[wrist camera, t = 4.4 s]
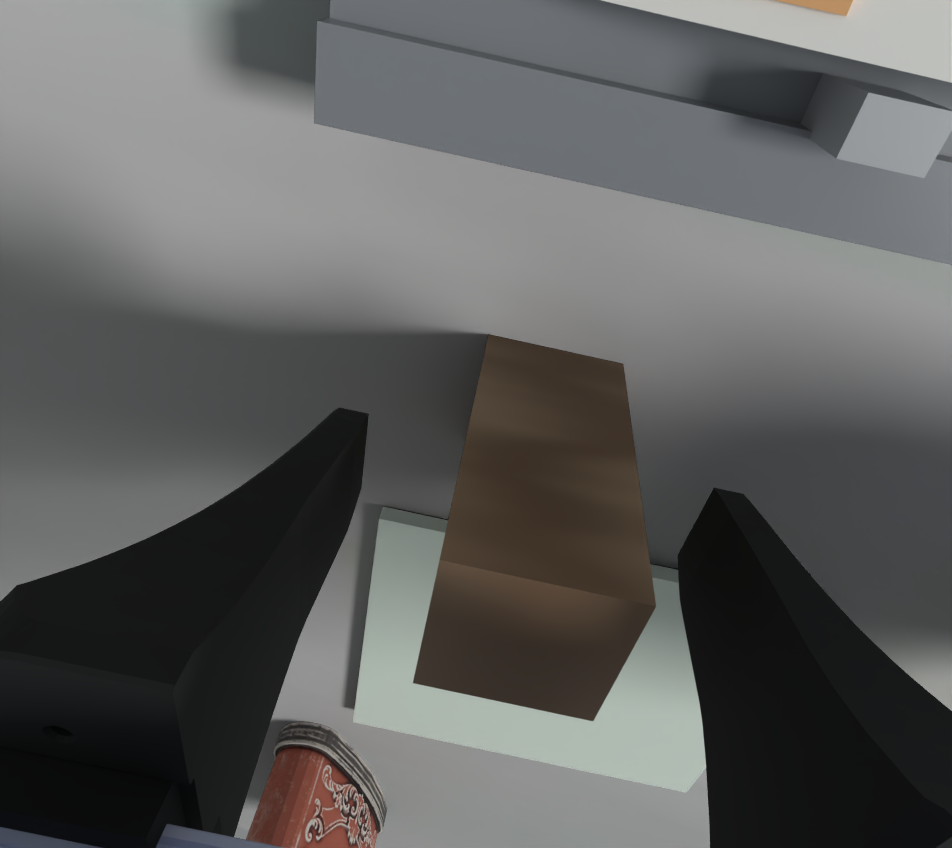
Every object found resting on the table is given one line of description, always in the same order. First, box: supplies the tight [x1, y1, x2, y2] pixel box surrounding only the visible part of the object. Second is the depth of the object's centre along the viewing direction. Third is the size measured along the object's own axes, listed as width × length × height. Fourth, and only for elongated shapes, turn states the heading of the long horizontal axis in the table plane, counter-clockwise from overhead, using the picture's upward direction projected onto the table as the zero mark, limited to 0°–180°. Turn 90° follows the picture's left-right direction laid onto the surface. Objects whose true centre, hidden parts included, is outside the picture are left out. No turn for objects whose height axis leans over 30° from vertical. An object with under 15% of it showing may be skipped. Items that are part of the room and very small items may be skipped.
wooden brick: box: [413, 334, 656, 721], centre depth 13 cm, size 3×3×7 cm
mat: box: [353, 507, 706, 792], centre depth 22 cm, size 13×11×1 cm
